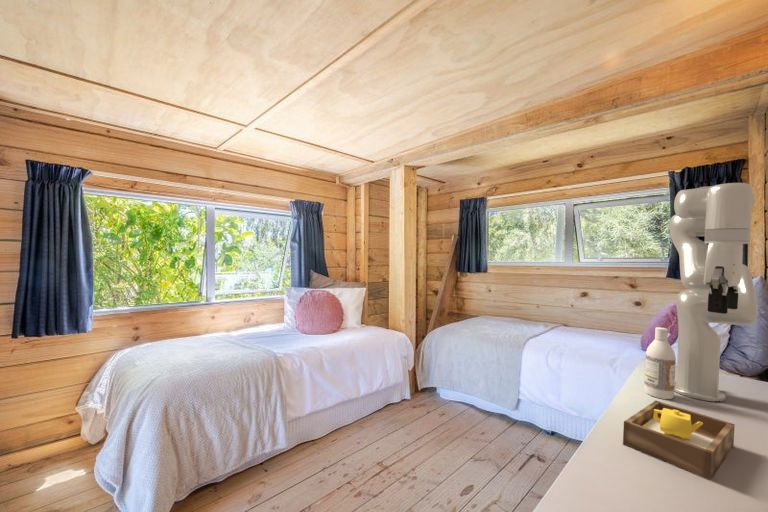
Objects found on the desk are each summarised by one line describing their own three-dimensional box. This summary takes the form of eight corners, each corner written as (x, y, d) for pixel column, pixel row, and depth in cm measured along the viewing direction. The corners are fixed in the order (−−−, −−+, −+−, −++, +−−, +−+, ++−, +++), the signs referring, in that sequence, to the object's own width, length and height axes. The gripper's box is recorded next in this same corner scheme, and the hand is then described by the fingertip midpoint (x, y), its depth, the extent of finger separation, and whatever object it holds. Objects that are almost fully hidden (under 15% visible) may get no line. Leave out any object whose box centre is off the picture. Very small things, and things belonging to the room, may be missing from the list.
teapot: (701, 436, 73) (702, 411, 73) (702, 446, 69) (703, 421, 69) (654, 422, 79) (655, 400, 79) (651, 431, 74) (652, 407, 74)
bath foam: (668, 401, 98) (671, 331, 98) (640, 393, 104) (643, 327, 103) (677, 396, 102) (680, 329, 101) (649, 388, 107) (652, 324, 107)
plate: (651, 427, 81) (652, 418, 81) (715, 449, 72) (716, 440, 72) (637, 438, 75) (637, 429, 75) (704, 464, 66) (705, 454, 66)
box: (654, 420, 86) (655, 400, 86) (733, 447, 75) (734, 424, 75) (622, 444, 75) (623, 421, 74) (710, 480, 63) (711, 453, 63)
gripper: (714, 238, 88) (711, 304, 89) (694, 236, 78) (690, 311, 79) (757, 238, 82) (753, 309, 83) (741, 236, 72) (736, 317, 73)
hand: (722, 310), depth 81 cm, fingers open, 9 cm apart
